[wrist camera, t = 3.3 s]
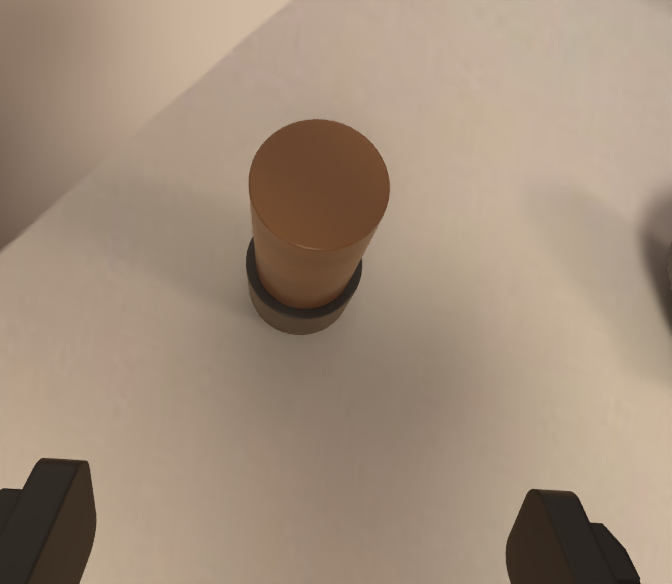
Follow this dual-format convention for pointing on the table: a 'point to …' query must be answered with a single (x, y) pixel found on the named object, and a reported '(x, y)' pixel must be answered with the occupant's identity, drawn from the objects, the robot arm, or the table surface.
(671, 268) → the gaming controller
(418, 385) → the table surface
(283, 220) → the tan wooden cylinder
